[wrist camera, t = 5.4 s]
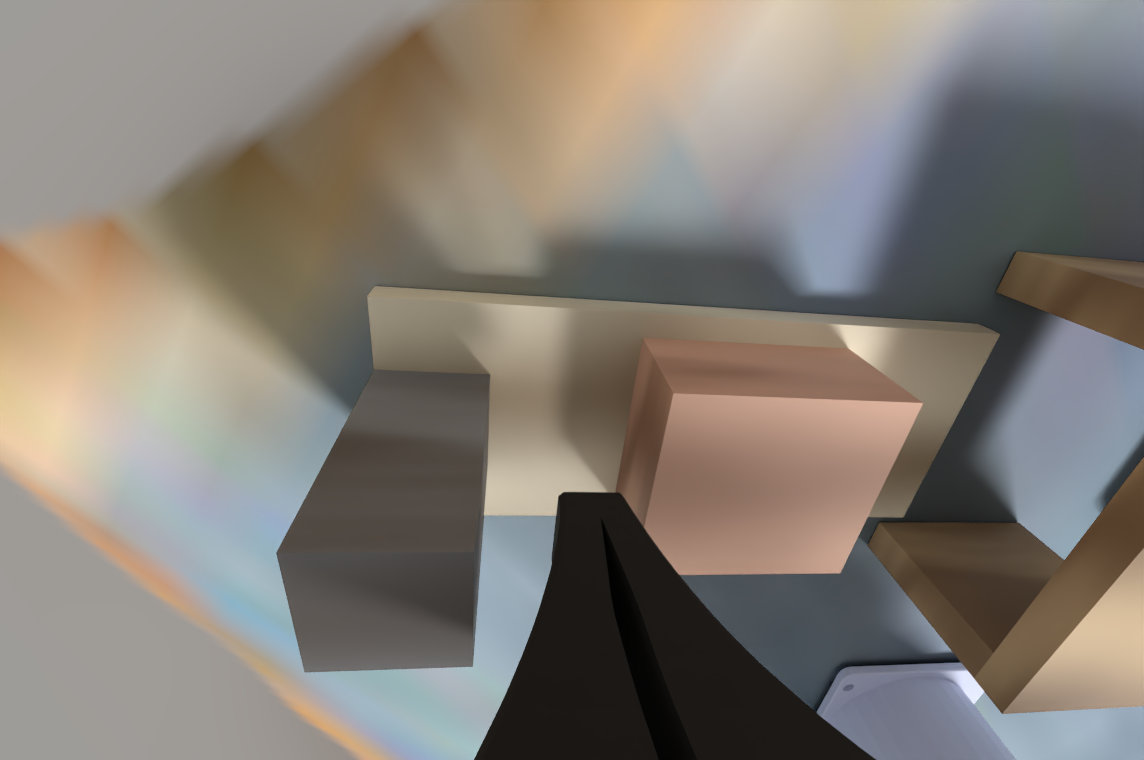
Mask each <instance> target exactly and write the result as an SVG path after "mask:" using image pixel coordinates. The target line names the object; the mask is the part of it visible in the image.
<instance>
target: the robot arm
mask: <svg viewBox="0 0 1144 760" xmlns="http://www.w3.org/2000/svg"><path fill="white" fill-rule="evenodd" d="M983 692H984V690H983V689H982V688H981V687H980V685H979V684H978V683H977V682H976V680H975V679H974V678H973V677H972V675H971V674H970V673H969V672H968V670H967V669H966V668H965V667H964V665H963V664H962V663H961V662H958V663H932V664H906V665H879V666H853V667H846V668H844V669H842V670H841V671H840V672H839V673H838V675H837V676H836V678H835V680H834V682H833V684H832V685H831V687H830V689H829V691H828V692H827V694H826V696H825V698H824V700H823V701H822V703H821V705H820V707H819V709H818V710H817V712H815V711H813V710H812V709H811V708H810V707H809V706H808V705H806V704H805V703H804V702H803V701H802V700H801V699H800V698H798V697H797V696H796V695H795V694H794V693H793V692H792V691H790V690H789V689H788V688H787V687H786V686H785V685H784V684H783V683H781V682H780V681H779V680H778V679H777V678H776V677H775V676H773V675H772V674H771V673H770V672H769V671H768V670H767V669H766V668H764V667H763V666H762V665H761V664H760V663H759V662H758V661H757V660H756V659H755V658H754V657H753V656H752V655H751V654H750V653H749V652H748V651H747V650H746V649H745V648H744V647H743V646H742V645H741V644H740V643H739V642H738V641H737V640H736V639H735V638H734V637H733V636H732V635H731V634H730V633H729V632H728V631H727V630H726V629H725V628H724V627H723V625H722V624H721V623H720V622H719V621H718V620H717V619H716V618H715V617H714V616H713V615H712V613H711V612H710V611H709V610H708V609H707V608H706V607H705V606H704V604H703V603H702V602H701V601H700V600H699V598H698V597H697V596H696V595H695V594H694V593H693V591H692V590H691V589H690V588H689V587H688V585H687V584H686V583H685V582H684V580H683V579H682V578H681V577H680V576H679V574H678V573H677V572H676V570H675V569H674V568H673V566H672V565H671V564H670V562H669V561H668V560H667V559H666V557H665V556H664V555H663V553H662V552H661V551H660V549H659V548H658V547H657V545H656V544H655V542H654V541H653V540H652V538H651V537H650V535H649V534H648V533H647V531H646V530H645V528H644V527H643V525H642V524H641V522H640V521H639V519H638V518H637V516H636V515H635V513H634V512H633V510H632V509H631V507H630V506H629V504H628V503H627V501H626V500H625V498H624V497H623V495H622V494H621V493H620V492H563V493H562V494H561V495H559V496H558V504H557V513H556V523H555V532H554V542H553V551H552V566H551V570H550V574H549V578H548V581H547V585H546V588H545V591H544V595H543V598H542V602H541V605H540V608H539V611H538V614H537V617H536V620H535V623H534V626H533V628H532V631H531V634H530V636H529V639H528V642H527V644H526V647H525V650H524V652H523V655H522V657H521V660H520V662H519V664H518V667H517V669H516V672H515V674H514V676H513V679H512V681H511V683H510V686H509V688H508V690H507V693H506V695H505V697H504V699H503V701H502V704H501V706H500V708H499V710H498V712H497V714H496V716H495V718H494V720H493V722H492V724H491V726H490V728H489V730H488V732H487V735H486V737H485V739H484V741H483V743H482V745H481V747H480V749H479V751H478V753H477V755H476V757H475V759H474V760H1016V759H1015V758H1014V756H1013V755H1012V754H1011V752H1010V751H1009V750H1008V749H1007V747H1006V746H1005V745H1004V743H1003V742H1002V741H1001V739H1000V738H999V737H998V735H997V734H996V733H995V732H994V730H993V729H992V728H991V726H990V725H989V724H988V722H987V721H986V720H985V718H984V717H983V716H982V715H981V713H980V712H979V711H978V709H977V708H976V707H975V705H974V704H975V702H976V701H977V700H978V699H979V697H980V696H981V695H982V694H983Z"/></svg>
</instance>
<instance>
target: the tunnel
mask: <svg viewBox="0 0 1144 760" xmlns="http://www.w3.org/2000/svg"><path fill="white" fill-rule="evenodd" d="M996 292H997V293H999V294H1002V295H1005V296H1007V297H1010V298H1012V299H1015V300H1017V301H1020V302H1023V303H1025V304H1028V305H1030V306H1033V307H1035V308H1038V309H1041V310H1043V311H1046V312H1048V313H1051V314H1053V315H1056V316H1059V317H1061V318H1064V319H1066V320H1069V321H1071V322H1074V323H1077V324H1079V325H1082V326H1084V327H1087V328H1089V329H1092V330H1095V331H1097V332H1100V333H1102V334H1105V335H1107V336H1110V337H1113V338H1115V339H1118V340H1120V341H1123V342H1125V343H1128V344H1131V345H1133V346H1136V347H1138V348H1141V349H1143V350H1144V262H1137V261H1125V260H1113V259H1102V258H1090V257H1078V256H1066V255H1055V254H1043V253H1031V252H1019V251H1016V253H1015V255H1014V257H1013V259H1012V261H1011V263H1010V265H1009V267H1008V269H1007V271H1006V273H1005V275H1004V277H1003V279H1002V281H1001V283H1000V285H999V287H998V289H997V291H996ZM868 547H869V548H870V549H871V551H872V552H873V553H874V554H875V556H876V557H877V558H878V559H879V561H880V562H881V563H882V564H883V566H884V567H885V568H886V569H887V571H888V572H889V573H890V574H891V576H892V577H893V578H894V579H895V581H896V582H897V583H898V584H899V586H900V587H901V588H902V589H903V590H904V592H905V593H906V594H907V595H908V597H909V598H910V599H911V600H912V602H913V603H914V604H915V605H916V607H917V608H918V609H919V610H920V612H921V613H922V614H923V615H924V617H925V618H926V619H927V620H928V622H929V623H930V624H931V625H932V627H933V628H934V629H935V630H936V632H937V633H938V634H939V635H940V637H941V638H942V639H943V640H944V642H945V643H946V644H947V645H948V647H949V648H950V649H951V650H952V652H953V653H954V654H955V655H956V657H957V658H958V659H959V660H960V662H961V663H962V664H963V665H964V667H965V668H966V669H967V670H968V672H969V673H970V674H971V675H972V677H973V678H974V679H975V680H976V682H977V683H978V684H979V685H980V687H981V688H982V689H983V690H984V692H985V693H986V694H987V695H988V697H989V698H990V699H991V700H992V702H993V703H994V704H995V705H996V707H997V708H998V709H999V710H1000V712H1001V713H1002V714H1008V713H1026V712H1045V711H1063V710H1082V709H1101V708H1119V707H1138V706H1144V457H1143V459H1142V460H1141V461H1140V463H1139V464H1138V465H1137V466H1136V468H1135V469H1134V470H1133V472H1132V473H1131V474H1130V476H1129V477H1128V478H1127V479H1126V481H1125V482H1124V483H1123V485H1122V486H1121V487H1120V489H1119V490H1118V491H1117V493H1116V494H1115V495H1114V496H1113V498H1112V499H1111V500H1110V502H1109V503H1108V504H1107V506H1106V507H1105V508H1104V509H1103V511H1102V512H1101V513H1100V515H1099V516H1098V517H1097V519H1096V520H1095V521H1094V523H1093V524H1092V525H1091V526H1090V528H1089V529H1088V530H1087V532H1086V533H1085V534H1084V536H1083V537H1082V538H1081V540H1080V541H1079V542H1078V543H1077V545H1076V546H1075V547H1074V549H1073V550H1072V551H1071V553H1070V554H1069V555H1068V556H1067V558H1066V559H1065V560H1063V559H1062V558H1061V557H1060V556H1058V555H1057V554H1056V553H1055V552H1053V551H1052V550H1051V549H1050V548H1049V547H1047V546H1046V545H1045V544H1044V543H1043V542H1041V541H1040V540H1039V539H1038V538H1037V537H1035V536H1034V535H1033V534H1032V533H1031V532H1029V531H1028V530H1027V529H1026V528H1025V527H1023V526H1022V525H1021V524H1020V523H916V522H879V524H878V526H877V528H876V530H875V532H874V534H873V536H872V538H871V540H870V542H869V544H868Z"/></svg>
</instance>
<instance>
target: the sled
mask: <svg viewBox="0 0 1144 760" xmlns="http://www.w3.org/2000/svg"><path fill="white" fill-rule="evenodd" d="M367 301H368V312H369V323H370V334H371V345H372V355H373V366H374V370H373V372H372V374H371V376H370V378H369V380H368V382H367V383H366V385H365V387H364V389H363V391H362V393H361V395H360V397H359V398H358V400H357V402H356V404H355V406H354V408H353V410H352V412H351V413H350V415H349V417H348V419H347V421H346V423H345V425H344V427H343V429H342V430H341V432H340V434H339V436H338V438H337V440H336V442H335V444H334V445H333V447H332V449H331V451H330V453H329V455H328V457H327V459H326V461H325V462H324V464H323V466H322V468H321V470H320V472H319V474H318V476H317V477H316V479H315V481H314V483H313V485H312V487H311V489H310V491H309V492H308V494H307V496H306V498H305V500H304V502H303V504H302V506H301V508H300V509H299V511H298V513H297V515H296V517H295V519H294V521H293V523H292V524H291V526H290V528H289V530H288V532H287V534H286V536H285V538H284V539H283V541H282V543H281V545H280V547H279V549H278V551H277V553H276V554H277V558H278V562H279V566H280V570H281V575H282V579H283V583H284V587H285V591H286V596H287V600H288V604H289V608H290V613H291V617H292V621H293V625H294V629H295V634H296V638H297V642H298V646H299V651H300V655H301V659H302V663H303V667H304V672H329V671H358V670H388V669H417V668H446V667H473V656H474V642H475V629H476V616H477V602H478V589H479V575H480V562H481V549H482V535H483V522H484V515H521V516H556V513H557V504H558V496H559V495H561V494H562V493H563V492H620V493H621V494H622V495H623V497H624V498H625V500H626V501H627V503H628V504H629V506H630V507H631V509H632V510H633V512H634V513H635V515H636V516H637V518H638V519H639V521H640V522H641V524H642V525H643V527H644V528H645V530H646V531H647V533H648V534H649V535H650V537H651V538H652V540H653V541H654V542H655V544H656V545H657V547H658V548H659V549H660V551H661V552H662V553H663V555H664V556H665V557H666V559H667V560H668V561H669V562H670V564H671V565H672V566H673V568H674V569H675V570H676V572H677V573H678V574H679V575H734V574H824V573H841V571H842V569H843V567H844V565H845V563H846V561H847V558H848V556H849V554H850V552H851V550H852V548H853V546H854V544H855V542H856V540H857V538H858V536H859V534H860V532H861V530H862V528H863V526H864V524H865V522H866V520H867V518H868V517H904V515H905V513H906V511H907V509H908V507H909V506H910V504H911V502H912V500H913V498H914V496H915V494H916V492H917V490H918V489H919V487H920V485H921V483H922V481H923V479H924V477H925V475H926V474H927V472H928V470H929V468H930V466H931V464H932V462H933V460H934V458H935V457H936V455H937V453H938V451H939V449H940V447H941V445H942V443H943V442H944V440H945V438H946V436H947V434H948V432H949V430H950V428H951V426H952V425H953V423H954V421H955V419H956V417H957V415H958V413H959V411H960V410H961V408H962V406H963V404H964V402H965V400H966V398H967V396H968V394H969V393H970V391H971V389H972V387H973V385H974V383H975V381H976V379H977V378H978V376H979V374H980V372H981V370H982V368H983V366H984V364H985V363H986V361H987V359H988V357H989V355H990V353H991V351H992V349H993V347H994V346H995V344H996V342H997V340H998V338H999V336H1000V334H999V333H997V332H995V331H993V330H991V329H988V328H986V327H984V326H982V325H980V324H974V323H958V322H942V321H926V320H910V319H894V318H878V317H862V316H846V315H830V314H814V313H798V312H782V311H766V310H750V309H734V308H718V307H702V306H686V305H670V304H654V303H638V302H622V301H607V300H591V299H575V298H559V297H543V296H527V295H511V294H495V293H479V292H463V291H447V290H431V289H415V288H399V287H383V286H375V287H374V288H373V289H372V290H371V292H370V293H369V294H368V296H367Z"/></svg>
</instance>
